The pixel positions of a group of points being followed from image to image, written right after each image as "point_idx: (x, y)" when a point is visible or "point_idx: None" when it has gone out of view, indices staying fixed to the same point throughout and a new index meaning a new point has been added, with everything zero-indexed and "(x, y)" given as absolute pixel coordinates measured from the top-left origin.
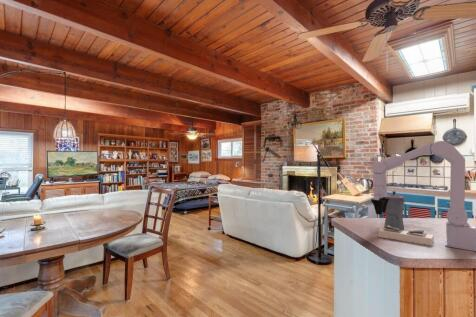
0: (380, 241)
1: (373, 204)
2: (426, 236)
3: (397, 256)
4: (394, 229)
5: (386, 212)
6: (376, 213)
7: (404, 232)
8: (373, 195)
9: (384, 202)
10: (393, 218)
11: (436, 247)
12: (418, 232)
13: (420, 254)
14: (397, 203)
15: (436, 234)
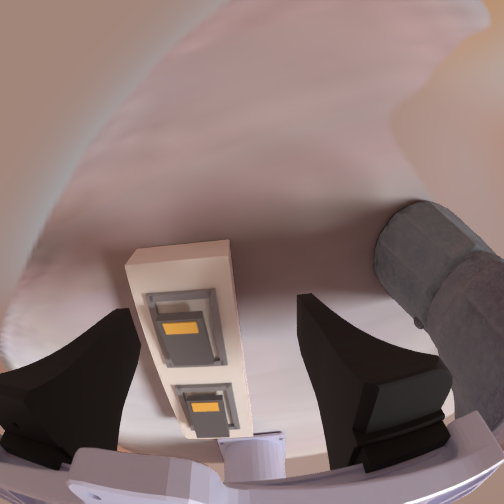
0: (69, 286)
1: (36, 364)
2: None
3: (3, 355)
4: (170, 350)
5: (469, 260)
6: (113, 314)
7: (201, 374)
8: (65, 483)
9: (329, 422)
10: (413, 299)
11: None
12: (194, 424)
13: None
14: (464, 408)
15: None
